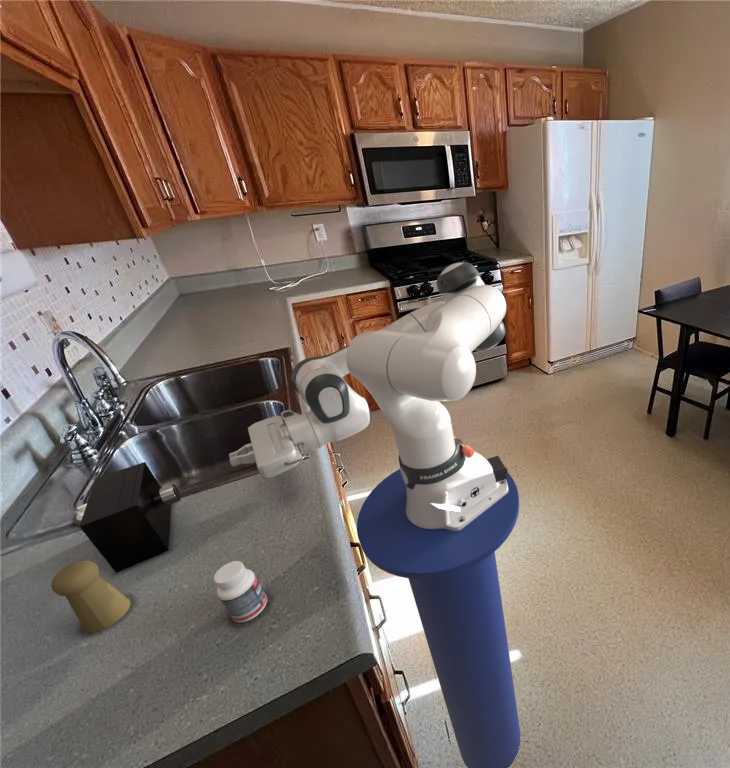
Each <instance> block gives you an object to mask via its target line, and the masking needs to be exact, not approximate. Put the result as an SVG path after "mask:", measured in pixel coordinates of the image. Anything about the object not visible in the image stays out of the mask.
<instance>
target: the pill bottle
mask: <svg viewBox="0 0 730 768" xmlns="http://www.w3.org/2000/svg"><path fill="white" fill-rule="evenodd" d="M213 581H214V583H215V585H216V586H217V588H216V595H217V598H218V599H219V600H220V602H221V603H222V604H223V607H225V609H226V611H227V613H228V614H229V616H230V618H231V619H232V620H233V622H235V623H238V624H239V623H245V622H249V621H251V620H253V619H254V618H256V617H257V616H259V615H260V614H261V613H262V611H263V610H264V609H265V607H266V606H267V603H268V596H267V594H266V592H265V590H264V589H263V587H262V585H261V583H260V582H259V579H258V578H257V576H256V574H255V573H254V571H252V570H251V569H249V568H246V566H245V565H244V563H243V562H242V561H240V560H233V561H230V562H227V563H226V564H224V565H222V566H221V567H219V569H218V570H217V571H216V572H215V573H214V576H213Z"/></svg>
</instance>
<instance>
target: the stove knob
mask: <svg viewBox="0 0 730 768" xmlns="http://www.w3.org/2000/svg"><path fill="white" fill-rule="evenodd" d="M86 505H87V503H84V504H82V505H80V506H78V507H76V510H77V511H78V512H77V513H76V515H75V516H74V517H73V523H74V525H75V526H77V527H79V526H80V523H81V520H82V517H83V514H84V511H85V508H86Z"/></svg>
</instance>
